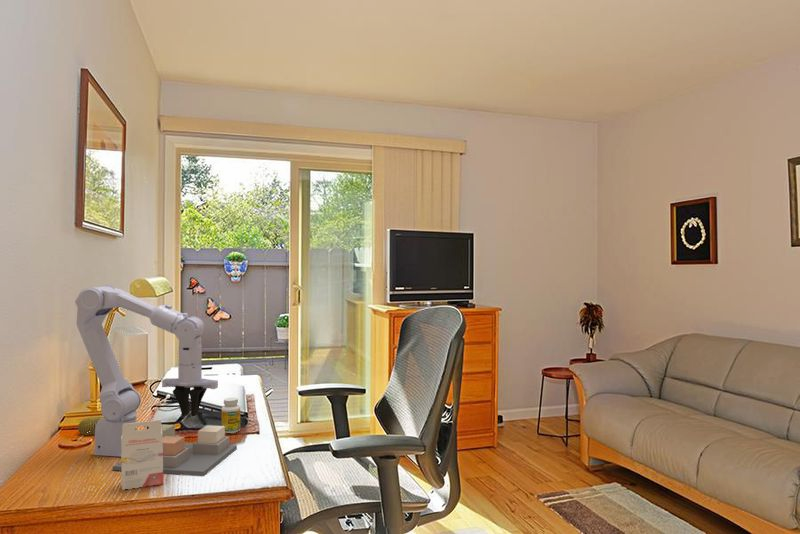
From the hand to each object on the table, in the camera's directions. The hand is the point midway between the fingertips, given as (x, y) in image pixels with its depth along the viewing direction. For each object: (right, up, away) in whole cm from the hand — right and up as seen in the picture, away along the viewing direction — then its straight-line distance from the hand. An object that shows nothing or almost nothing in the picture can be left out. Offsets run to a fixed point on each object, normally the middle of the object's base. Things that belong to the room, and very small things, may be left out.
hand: (189, 415), depth 148 cm
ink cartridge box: (-3, -10, -20) cm, 23 cm away
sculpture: (-34, -10, +16) cm, 39 cm away
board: (-1, -10, -5) cm, 11 cm away
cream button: (+6, -7, -1) cm, 9 cm away
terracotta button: (-1, -7, -10) cm, 12 cm away
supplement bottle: (+5, -10, +19) cm, 22 cm away
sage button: (-8, -7, 0) cm, 10 cm away
